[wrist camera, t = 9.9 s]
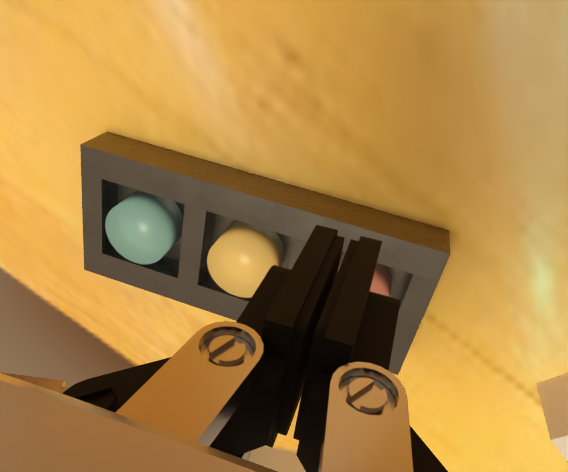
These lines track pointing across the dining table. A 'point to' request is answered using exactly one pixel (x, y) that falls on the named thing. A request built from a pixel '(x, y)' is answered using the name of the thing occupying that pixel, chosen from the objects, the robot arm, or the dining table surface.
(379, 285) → the brick button
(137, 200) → the teal button
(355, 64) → the dining table surface
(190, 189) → the button panel
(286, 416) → the robot arm
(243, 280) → the mustard button
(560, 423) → the white cube
